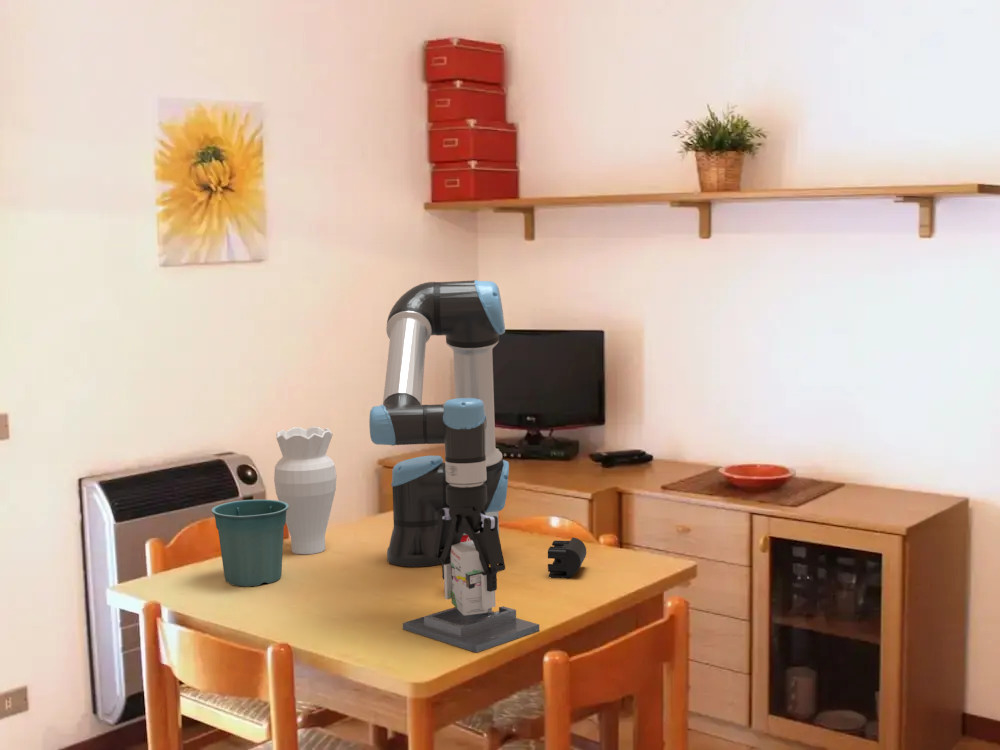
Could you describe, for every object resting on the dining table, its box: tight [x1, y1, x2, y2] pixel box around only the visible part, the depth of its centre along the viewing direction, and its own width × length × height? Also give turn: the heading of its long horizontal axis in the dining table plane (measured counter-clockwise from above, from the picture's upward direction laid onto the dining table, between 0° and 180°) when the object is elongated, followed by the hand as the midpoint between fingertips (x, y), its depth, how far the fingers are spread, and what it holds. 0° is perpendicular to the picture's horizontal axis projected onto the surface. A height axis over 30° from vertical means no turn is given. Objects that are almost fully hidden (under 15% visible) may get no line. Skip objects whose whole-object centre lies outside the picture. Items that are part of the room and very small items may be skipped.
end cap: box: [547, 537, 587, 579], centre depth 258 cm, size 10×7×7 cm
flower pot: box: [211, 499, 289, 587], centre depth 259 cm, size 16×16×16 cm
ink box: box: [450, 541, 488, 616], centre depth 220 cm, size 8×5×12 cm, turn 18°
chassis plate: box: [402, 606, 540, 653], centre depth 221 cm, size 20×17×3 cm
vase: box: [273, 426, 337, 555], centre depth 283 cm, size 15×15×29 cm
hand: (469, 602), depth 220 cm, fingers closed on ink box, 9 cm apart
